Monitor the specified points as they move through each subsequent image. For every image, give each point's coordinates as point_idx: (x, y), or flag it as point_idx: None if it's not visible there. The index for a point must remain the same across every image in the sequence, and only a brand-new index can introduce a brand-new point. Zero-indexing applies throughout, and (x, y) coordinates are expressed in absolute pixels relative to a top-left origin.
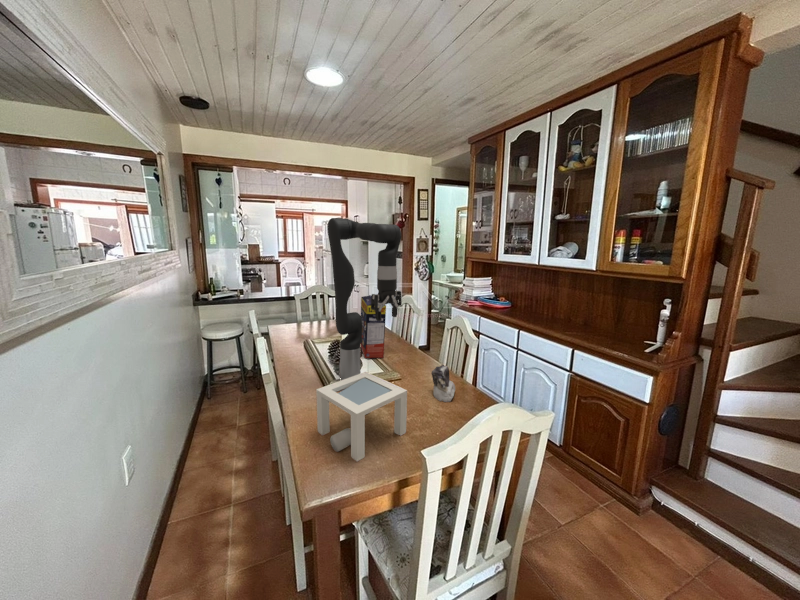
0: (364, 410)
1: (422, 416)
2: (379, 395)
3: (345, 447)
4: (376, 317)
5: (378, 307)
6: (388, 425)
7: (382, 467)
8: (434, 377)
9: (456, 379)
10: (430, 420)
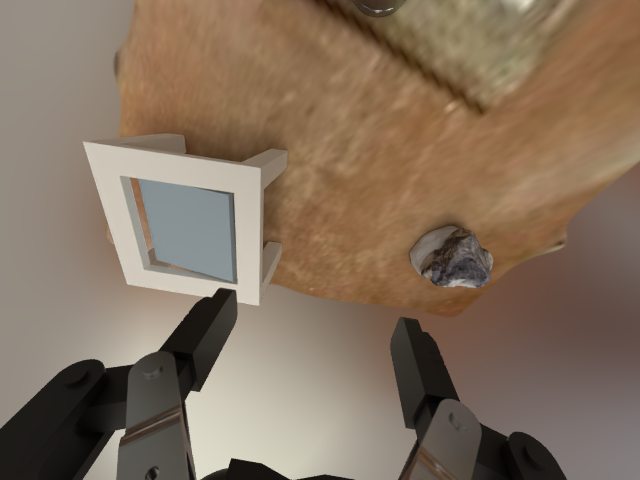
0: (144, 286)
1: (338, 252)
2: (207, 270)
3: None
4: (199, 313)
5: (179, 398)
6: (276, 223)
7: None
8: (448, 250)
9: (540, 237)
10: (335, 267)
